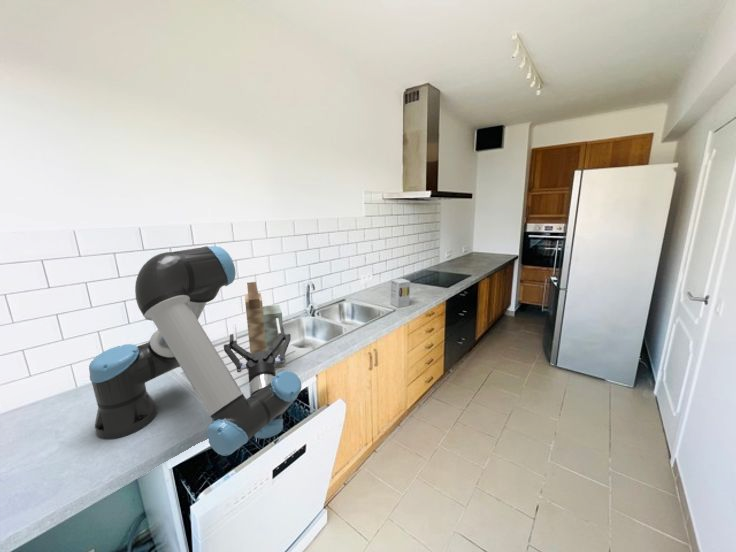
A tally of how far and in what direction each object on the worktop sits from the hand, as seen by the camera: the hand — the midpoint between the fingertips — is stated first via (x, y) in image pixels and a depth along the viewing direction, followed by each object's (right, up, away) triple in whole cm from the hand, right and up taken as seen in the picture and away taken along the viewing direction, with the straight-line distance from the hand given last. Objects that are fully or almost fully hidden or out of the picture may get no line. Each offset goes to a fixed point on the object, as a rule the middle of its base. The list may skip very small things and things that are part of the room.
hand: (256, 323), depth 101 cm
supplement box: (+59, -3, +98) cm, 114 cm away
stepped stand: (-5, -21, +25) cm, 33 cm away
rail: (-7, +7, +15) cm, 18 cm away
